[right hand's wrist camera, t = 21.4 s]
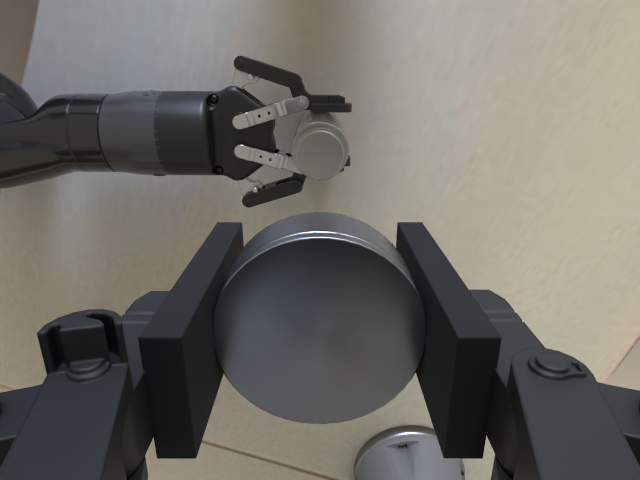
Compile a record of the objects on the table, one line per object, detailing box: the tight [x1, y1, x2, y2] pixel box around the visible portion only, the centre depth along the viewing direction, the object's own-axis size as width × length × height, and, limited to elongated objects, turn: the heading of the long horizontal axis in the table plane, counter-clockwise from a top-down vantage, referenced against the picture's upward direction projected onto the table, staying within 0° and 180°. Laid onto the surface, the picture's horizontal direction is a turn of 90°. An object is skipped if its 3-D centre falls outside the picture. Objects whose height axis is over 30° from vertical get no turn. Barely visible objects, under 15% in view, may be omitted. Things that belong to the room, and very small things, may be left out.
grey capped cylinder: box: [291, 110, 349, 180], centre depth 40 cm, size 4×4×18 cm
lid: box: [212, 212, 427, 424], centre depth 11 cm, size 5×5×2 cm
